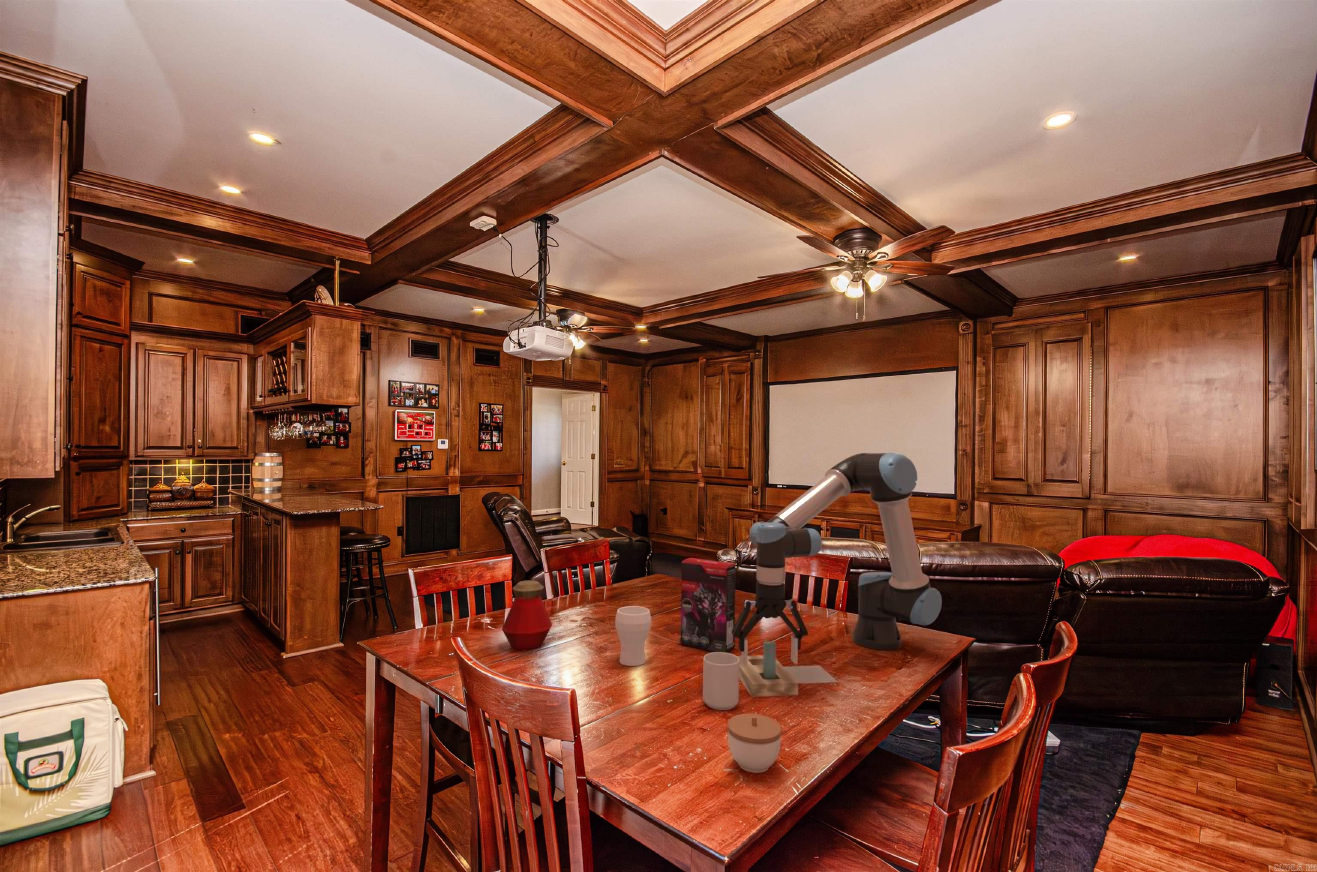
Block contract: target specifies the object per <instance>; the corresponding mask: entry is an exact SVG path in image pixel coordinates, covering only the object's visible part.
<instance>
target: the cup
mask: <svg viewBox="0 0 1317 872" xmlns="http://www.w3.org/2000/svg"><path fill="white" fill-rule="evenodd" d="M614 620H615V622H614V623H615V631H616V634H617V636H618V639H619V641H620V647H621V649H620V656H619V663H620V664H621V665H622V666H628V667H637V666H642V665H644V664H645V663H646V662H647V661H646V652H645V646H646V640H647V639H648V636H649V634H650V631H651V628H652V616H651V612H650V609H649V608H647V607H644V606H638V605H637V606H636V605H632V606H631V605H629V606H624V607H619V608H618V609H617V611H616V615H615V619H614Z"/></svg>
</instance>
